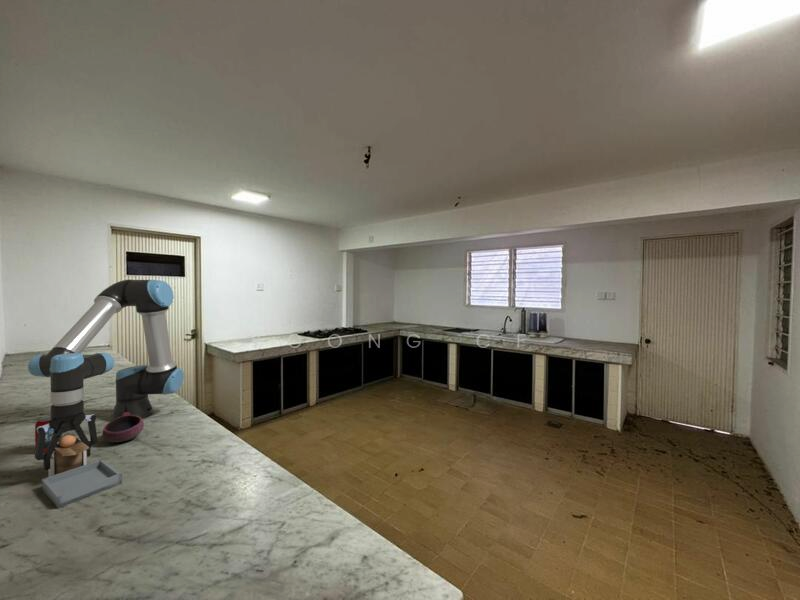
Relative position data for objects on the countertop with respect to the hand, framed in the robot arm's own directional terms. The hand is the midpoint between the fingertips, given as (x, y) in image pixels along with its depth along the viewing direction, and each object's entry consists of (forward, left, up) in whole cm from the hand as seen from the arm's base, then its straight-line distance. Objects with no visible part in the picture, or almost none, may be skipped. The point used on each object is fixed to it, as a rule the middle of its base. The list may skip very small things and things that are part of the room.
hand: (68, 472), depth 107 cm
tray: (0, +13, 0) cm, 13 cm away
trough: (0, +2, 0) cm, 2 cm away
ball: (0, -1, +10) cm, 10 cm away
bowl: (-19, -16, -1) cm, 25 cm away
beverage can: (-1, -27, -1) cm, 27 cm away
